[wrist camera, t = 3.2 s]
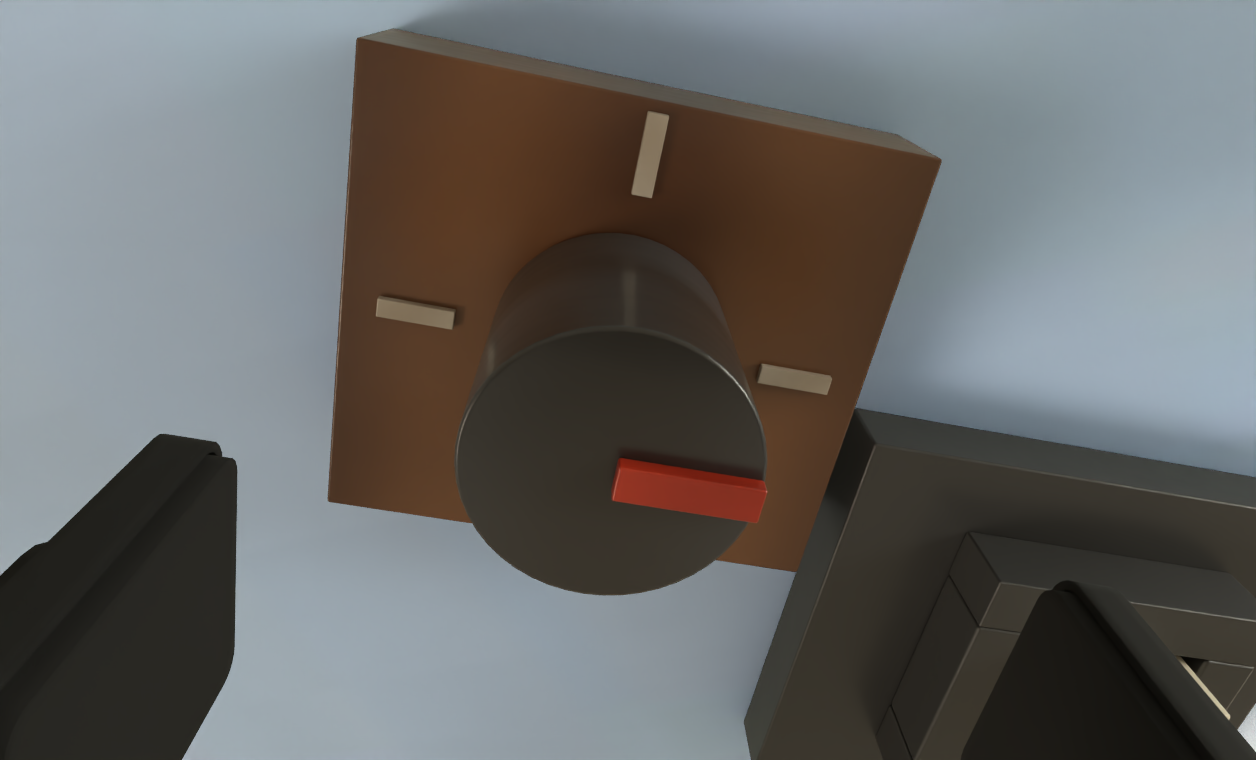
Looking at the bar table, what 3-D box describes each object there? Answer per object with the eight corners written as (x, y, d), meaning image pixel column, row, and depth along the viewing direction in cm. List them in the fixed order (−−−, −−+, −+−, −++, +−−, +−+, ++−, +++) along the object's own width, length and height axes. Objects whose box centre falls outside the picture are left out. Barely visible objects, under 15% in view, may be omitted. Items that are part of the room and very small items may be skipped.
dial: (477, 428, 17) (434, 587, 12) (509, 210, 15) (470, 307, 11) (696, 463, 17) (727, 629, 13) (753, 256, 15) (811, 368, 11)
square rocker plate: (742, 721, 24) (764, 836, 21) (853, 406, 20) (901, 490, 16) (1138, 773, 25) (1215, 887, 22) (1321, 488, 21) (1448, 579, 18)
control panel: (358, 442, 20) (324, 506, 17) (391, 27, 16) (353, 38, 14) (776, 507, 21) (799, 578, 18) (899, 134, 17) (947, 160, 15)
